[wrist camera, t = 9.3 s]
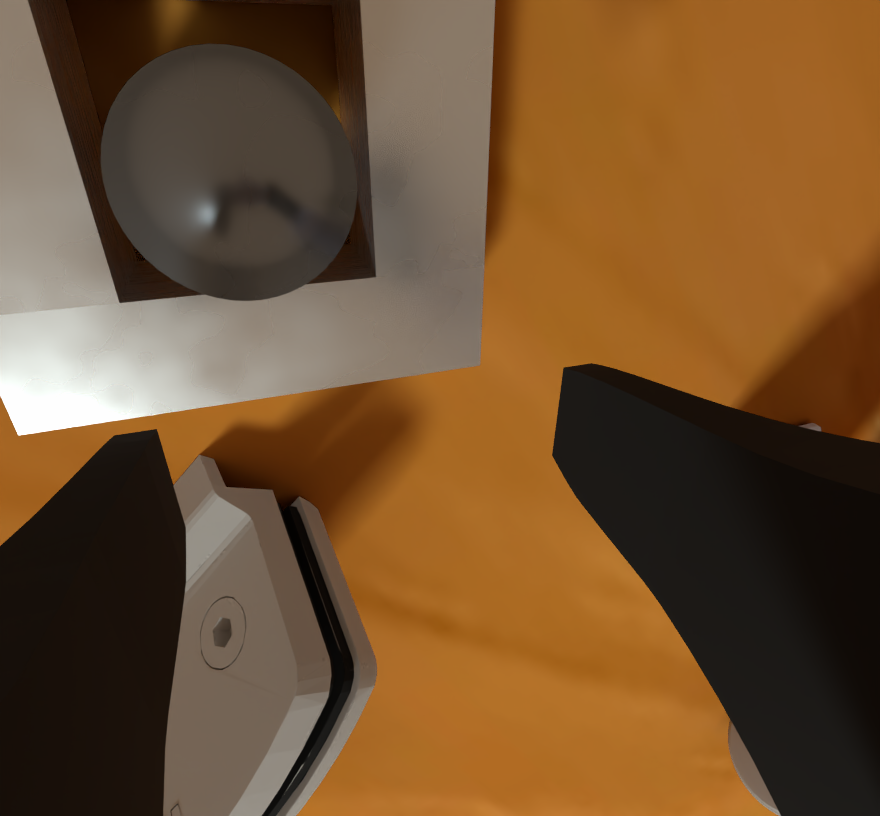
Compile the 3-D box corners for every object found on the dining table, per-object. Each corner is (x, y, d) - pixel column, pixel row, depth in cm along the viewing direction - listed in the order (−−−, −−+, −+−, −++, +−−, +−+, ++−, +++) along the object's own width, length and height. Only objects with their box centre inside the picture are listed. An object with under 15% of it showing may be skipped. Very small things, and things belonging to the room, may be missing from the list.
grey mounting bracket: (206, 446, 19) (327, 723, 14) (305, 474, 23) (433, 701, 17) (-51, 750, 22) (-42, 1087, 16) (75, 730, 26) (118, 999, 20)
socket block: (444, -143, 14) (503, -200, 11) (442, 322, 20) (480, 365, 17) (-175, -212, 10) (-326, -318, 8) (53, 372, 17) (19, 435, 14)
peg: (317, 210, 17) (368, 284, 11) (173, 227, 16) (147, 316, 10) (293, 50, 15) (341, 38, 9) (125, 57, 14) (57, 49, 8)
